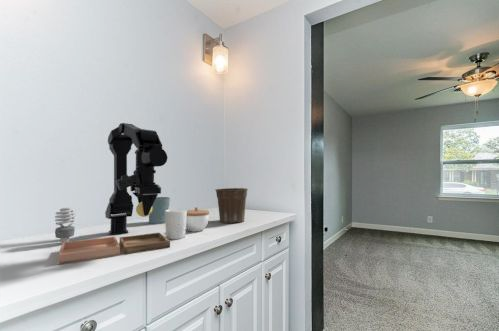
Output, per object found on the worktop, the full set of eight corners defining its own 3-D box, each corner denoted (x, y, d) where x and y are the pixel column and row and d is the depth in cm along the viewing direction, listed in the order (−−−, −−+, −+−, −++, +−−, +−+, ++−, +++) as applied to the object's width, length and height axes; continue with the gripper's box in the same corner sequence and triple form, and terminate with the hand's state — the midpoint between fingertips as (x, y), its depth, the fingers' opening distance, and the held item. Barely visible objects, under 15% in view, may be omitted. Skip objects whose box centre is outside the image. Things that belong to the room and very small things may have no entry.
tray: (119, 243, 86) (119, 237, 86) (159, 238, 93) (159, 232, 93) (125, 254, 74) (125, 247, 74) (170, 247, 81) (170, 240, 81)
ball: (134, 216, 84) (135, 201, 85) (150, 214, 87) (150, 200, 87) (137, 218, 80) (137, 202, 80) (153, 216, 83) (154, 201, 83)
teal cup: (143, 223, 122) (143, 198, 122) (160, 219, 131) (160, 196, 131) (157, 225, 117) (157, 199, 117) (174, 221, 125) (174, 197, 126)
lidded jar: (181, 228, 109) (181, 206, 110) (205, 226, 114) (205, 205, 114) (185, 233, 100) (185, 209, 100) (212, 231, 104) (212, 208, 104)
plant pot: (210, 223, 120) (210, 189, 121) (221, 218, 136) (221, 187, 136) (243, 225, 117) (243, 190, 117) (251, 219, 132) (250, 188, 133)
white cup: (180, 240, 89) (180, 212, 90) (160, 239, 91) (160, 211, 91) (190, 235, 97) (190, 209, 97) (171, 234, 99) (171, 208, 99)
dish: (62, 250, 77) (62, 242, 77) (114, 243, 85) (114, 236, 85) (58, 264, 65) (58, 255, 65) (119, 255, 73) (119, 246, 73)
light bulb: (78, 242, 87) (79, 207, 88) (62, 246, 82) (63, 209, 82) (67, 240, 89) (68, 206, 90) (50, 244, 84) (51, 208, 84)
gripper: (114, 167, 88) (114, 212, 87) (121, 166, 72) (120, 221, 72) (148, 167, 94) (148, 210, 93) (161, 166, 78) (161, 217, 78)
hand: (144, 214), depth 84 cm, fingers closed on ball, 5 cm apart
